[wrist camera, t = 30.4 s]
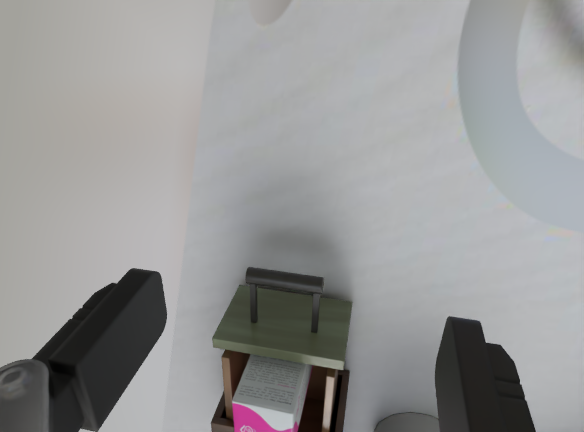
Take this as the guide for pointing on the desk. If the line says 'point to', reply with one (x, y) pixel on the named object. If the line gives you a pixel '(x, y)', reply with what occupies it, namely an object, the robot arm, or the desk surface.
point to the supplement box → (270, 395)
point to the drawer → (286, 337)
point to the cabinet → (225, 427)
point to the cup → (408, 423)
